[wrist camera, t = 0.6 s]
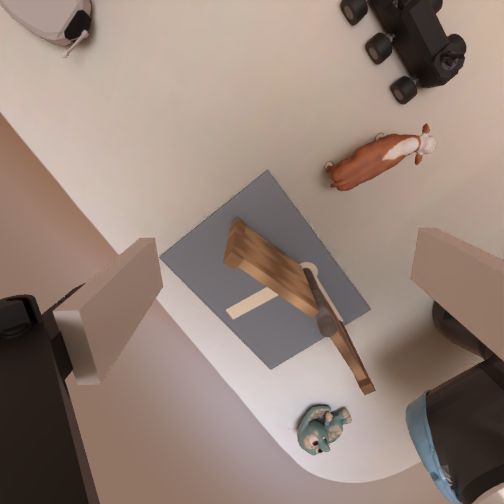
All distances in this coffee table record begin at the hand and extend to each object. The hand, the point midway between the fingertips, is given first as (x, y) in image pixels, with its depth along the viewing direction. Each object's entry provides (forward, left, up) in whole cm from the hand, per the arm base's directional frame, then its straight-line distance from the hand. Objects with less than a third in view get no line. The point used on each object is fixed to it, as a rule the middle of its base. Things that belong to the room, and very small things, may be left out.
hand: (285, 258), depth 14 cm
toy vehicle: (+3, -24, -30) cm, 39 cm away
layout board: (-15, +10, -30) cm, 35 cm away
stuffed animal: (-48, +21, -30) cm, 60 cm away
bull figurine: (-7, -13, -30) cm, 33 cm away
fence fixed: (-23, +4, -30) cm, 38 cm away
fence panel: (-9, +6, -29) cm, 31 cm away
